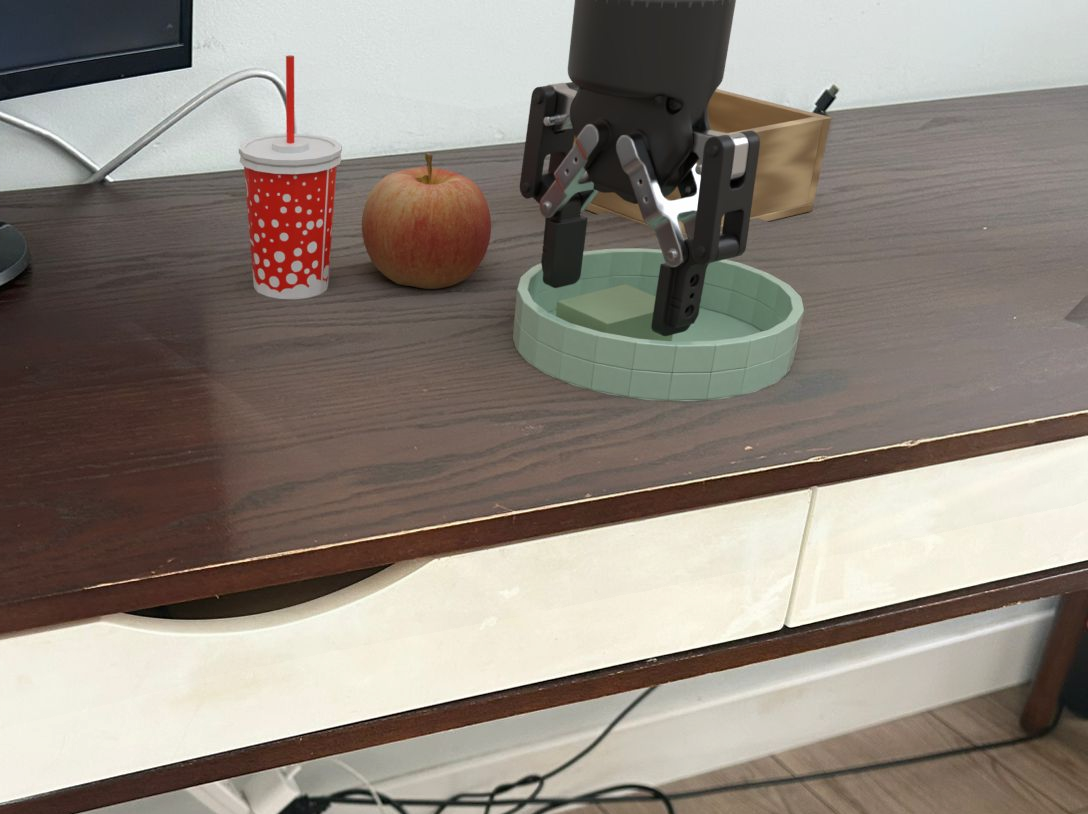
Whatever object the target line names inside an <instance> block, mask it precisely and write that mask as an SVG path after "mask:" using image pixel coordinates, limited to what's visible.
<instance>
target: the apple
mask: <svg viewBox="0 0 1088 814" xmlns="http://www.w3.org/2000/svg"><path fill="white" fill-rule="evenodd" d="M424 159H425V161H426V166H418V167H413V168H407V169H405V168H404V169H402V170H400V171H395V172H391V173H389V174H387V175H386V176H384V177H382V178H381V179H380V180H379V181H378V182H377V183H376V184H375V185H374V186H373V188H372V189H371V190H370V192H369V194H368V196H367V197H366V201H365V204H364V208H363V212H362V217H361V235H362V240H363V244H364V247H365V250H366V253H367V254H368V257H369V258H370V259H369V260H371V262H372V263H373V265H374V266H375V268H377V270H378V271H379V272H380V273H381V274H383V275H384V276H385V277H386V278H387V279H389V280H391V281H392V282H393V283H395V284H397V285H400V286H404V287H405V286H406V287H414V288H419V289H424V290H438V289H445V288H450V287H452V286H454V285H455V286H456V285H457V284H459V283H461V282H463V281H464V280H466V279H467V278H469V277H470V276H471V275H472V274H474V272H475V271H476V270H477V269H478V267H480V265H481V263H482V262H483V259H484V258H485V256H486V253H487V251H488V249H489V248H488V247H489V244H490V240H491V234H492V217H491V211H490V208H489V204H488V201H487V199H486V197H485V195H484V192H483V191H482V190H481V188H480V187H479V185H477V184H476V182H474V181H473V180H472V179H470V178H469V177H466V176H465V175H461V174H458V173H457V172H454V171H451V170H446V169H442V168H438V167H433V166H432V165H433V163H432V162H433V154H432V153H430V152H426V153H425V154H424Z"/></svg>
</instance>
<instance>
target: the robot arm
mask: <svg viewBox="0 0 1088 814" xmlns="http://www.w3.org/2000/svg"><path fill="white" fill-rule="evenodd" d="M736 4H737V0H574V5H573V15H572V22H571V23H572V25H571V34H570V41H569V42H570V44H569V51H568V60H567V61H568V62H567V75H568V78H569V79H570V82H559V83H552V84H547V85H543V86H537V87H535V88H534V89H533V90H532V92H531V97H530V105H529V113H528V119H527V126H526V134H525V135H526V136H525V140H524V141H525V143H524V150H523V158H522V165H521V173H520V179H519V191H520V194H521V196H522V197H523V198H524V199H528V200H529V199H534V200H535V202H536V203H538V204H539V211H540V214H541V215H542V216H543V217H544V219H545V223H544V231H543V242H542V253H541V261H540V263H541V264H542V271H543V282H544V283H545V284H546V285H549V286H551V287H553V288H559V287H563V286H568V285H572V284H575V283H576V282H577V281H578V280H579V278H580V276H581V269H582V260H583V252H585V244H586V243H585V242H586V234H587V227H588V217H587V216H584V215H582V214H581V213H582V212H584V211H586V210H585V209H586V208H587V206H588V205H589V204H590V203H591V201H592V200H593V199H594V198H595V196H596V195H597V194H598V192H599V191H600V192H602V193H612V192H614V193H616V194H617V195H618V196H620V197H621V198H622V199H623V200H625V201H628V202H631V203H633V204H638V205H639V208H640V211H641V214H642V217H643V220H644V222H645V223H646V224H647V225H648V226H651V227H652V229H653V230H654V232H655V235H656V238H657V241H658V245H659V248H660V250H662V253H663V256H664V259H665V262H666V263H663V264H661V265H660V272H659V278H658V285H657V291H656V298H655V305H654V311H653V318H652V324H651V328H652V331H653V332H655V333H658V334H660V335H662V336H670V335H673V334H677V333H681V332H684V331H686V330H687V329H688V328H689V327H690V325H691V324H694V322H695V321H696V319H697V317H698V315H699V309H700V303H701V296H702V291H703V285H704V279H705V273H706V269H707V266H708V264H709V263H712V262H716V261H720V260H725V259H726V260H730V259H733V258H737V257H740V256H742V255H743V254H744V253H745V251H746V249H747V244H748V237H749V229H750V221H751V220H750V215H751V207H752V200H753V192H754V185H755V178H756V170H757V163H758V156H759V148H760V139H759V136H758V135H757V133H756V132H754V131H752V130H749V131H743V132H738V133H732V134H728V133H723V132H718V131H713V130H711V128H710V124H709V119H708V104H709V101H710V99H711V97H712V95H713V93H714V92H715V90H716V89H719V86H720V85H721V84H722V82H723V80H724V77H725V70H726V64H727V58H728V51H729V45H730V39H731V33H732V26H733V22H734V15H735V10H736V9H735V8H736ZM574 137H576V143H575V145H574V146H573V143H574ZM548 155H549V161H548V162H549V163H548V169H547V172H543V171H544V166H545V165H544V164H545V159H546V157H547V156H548ZM699 160H700V164H697V162H698V161H699ZM677 186H678V189H679V192H680V195H681V199H676V200H667V199H666V198H665V197H666V196H668V195H670V194H671V193H672V192H673V191H674V190H675V189H676V187H677ZM723 215H724V222H723V226H722V227H721V221H722V217H723ZM678 220H680V221H681V222H682V223H683V225H684V228H685V231H686V234H687V235H686V237H687V238H685V237H684V235H683V234H682V231H681V228H680V225H679V222H678ZM648 226H647V227H648ZM651 227H650V228H651ZM721 228H722V231H721Z"/></svg>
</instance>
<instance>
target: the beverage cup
mask: <svg viewBox="0 0 1088 814" xmlns="http://www.w3.org/2000/svg"><path fill="white" fill-rule="evenodd" d="M285 107H286V108H285V112H286V113H285V115H286V116H285V118H286V119H285V121H286V122H285V124H286V125H285V126H286V129H285V130H286V131H285V132H286V133H279V134H278V133H277V134H276V133H275V134H266V135H260V136H256V137H251V138H248V139H247V140H245V141H243V142H241V143H240V144H239V146H238V155H240V157H239V163H240V164H241V165H242V166H243V170H244V171H243V173H244V182H245V183H244V184H245V196H246V208H247V209H246V210H247V219H248V231H249V232H248V233H249V245H250V257H251V267H252V268H251V269H252V280H253V289H254V290H255V291H256V293H258V294H260V295H263V296H265V297H266V298H267V297H268V298H273V299H279V300H301V299H310V298H312V297H317V296H319V295H321V294H323V293H324V292H326V291H327V290H328V287H329V282H330V281H329V279H330V266H331V252H332V239H333V226H334V225H333V224H334V210H335V196H336V183H337V170H338V169H337V168H338V166H339V165H341V161H342V152H343V145H342V144H341V143H340V142H339V141H338V140H336V139H333V138H330V137H327V136H323V135H316V134H308V133H295V55H291V54H290V55H289V54H288V55H285Z"/></svg>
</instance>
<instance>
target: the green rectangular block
mask: <svg viewBox="0 0 1088 814" xmlns="http://www.w3.org/2000/svg"><path fill="white" fill-rule="evenodd" d="M655 298H656V297H655V296H653V295H650V294H648V293H646V292H643V291H641V290H638V289H636V288H633V287H631V286H629V285H626V284H625V285H621V286H617V287H612V288H608V289H604V290H600V291H596V292H592V293H588V294H584V295H580V296H576V297H572V298H568V299H564V300H560V301H557V310H556V316H557V317H559V318H561V319H563V320H565V321H567V322H570V323H572V324H576V325H579V326H582V327H586V328H589V329H593V330H596V331H599V332H604V333H609V334H615V335H621V336H626V337H632V338H637V339H648V340H660V341H672V337H673V335H670V336H662V335H660V334H658V333H655V332H653V331H652V328H651V324H652V318H653V311H654V305H655Z"/></svg>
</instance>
